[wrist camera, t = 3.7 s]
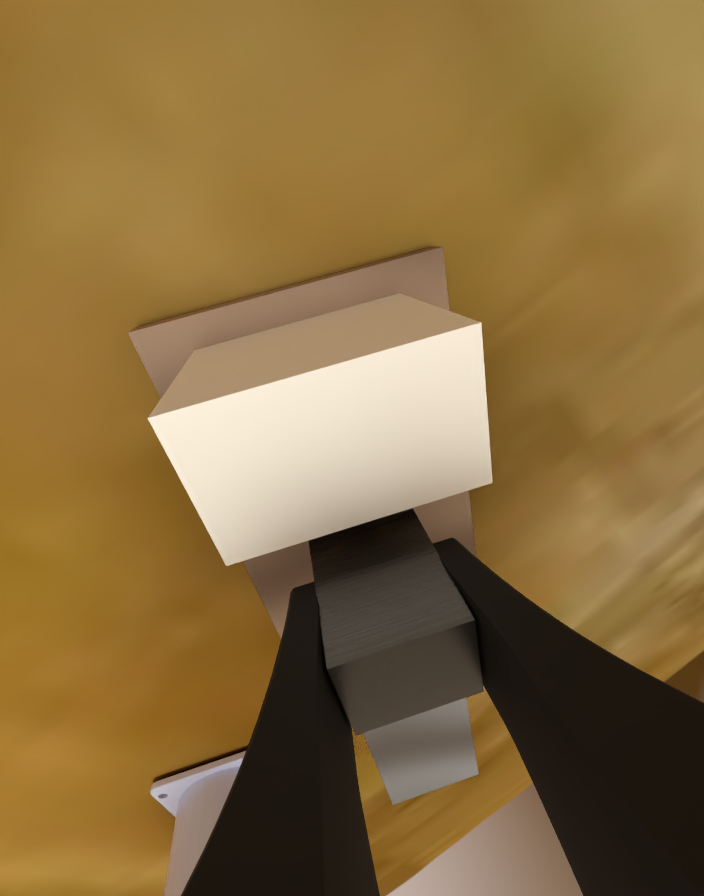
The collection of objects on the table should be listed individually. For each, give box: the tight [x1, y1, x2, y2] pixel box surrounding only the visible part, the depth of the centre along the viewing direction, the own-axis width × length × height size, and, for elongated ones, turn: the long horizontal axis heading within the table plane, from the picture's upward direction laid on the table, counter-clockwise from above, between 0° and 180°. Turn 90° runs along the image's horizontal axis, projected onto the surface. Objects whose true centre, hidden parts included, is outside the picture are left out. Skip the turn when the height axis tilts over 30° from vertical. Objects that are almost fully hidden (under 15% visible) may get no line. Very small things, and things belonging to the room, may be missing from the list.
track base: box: [128, 247, 478, 805], centre depth 17 cm, size 24×10×5 cm, turn 13°
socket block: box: [148, 293, 493, 566], centre depth 11 cm, size 4×7×6 cm, turn 103°
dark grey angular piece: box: [308, 508, 484, 735], centre depth 13 cm, size 14×3×8 cm, turn 13°
